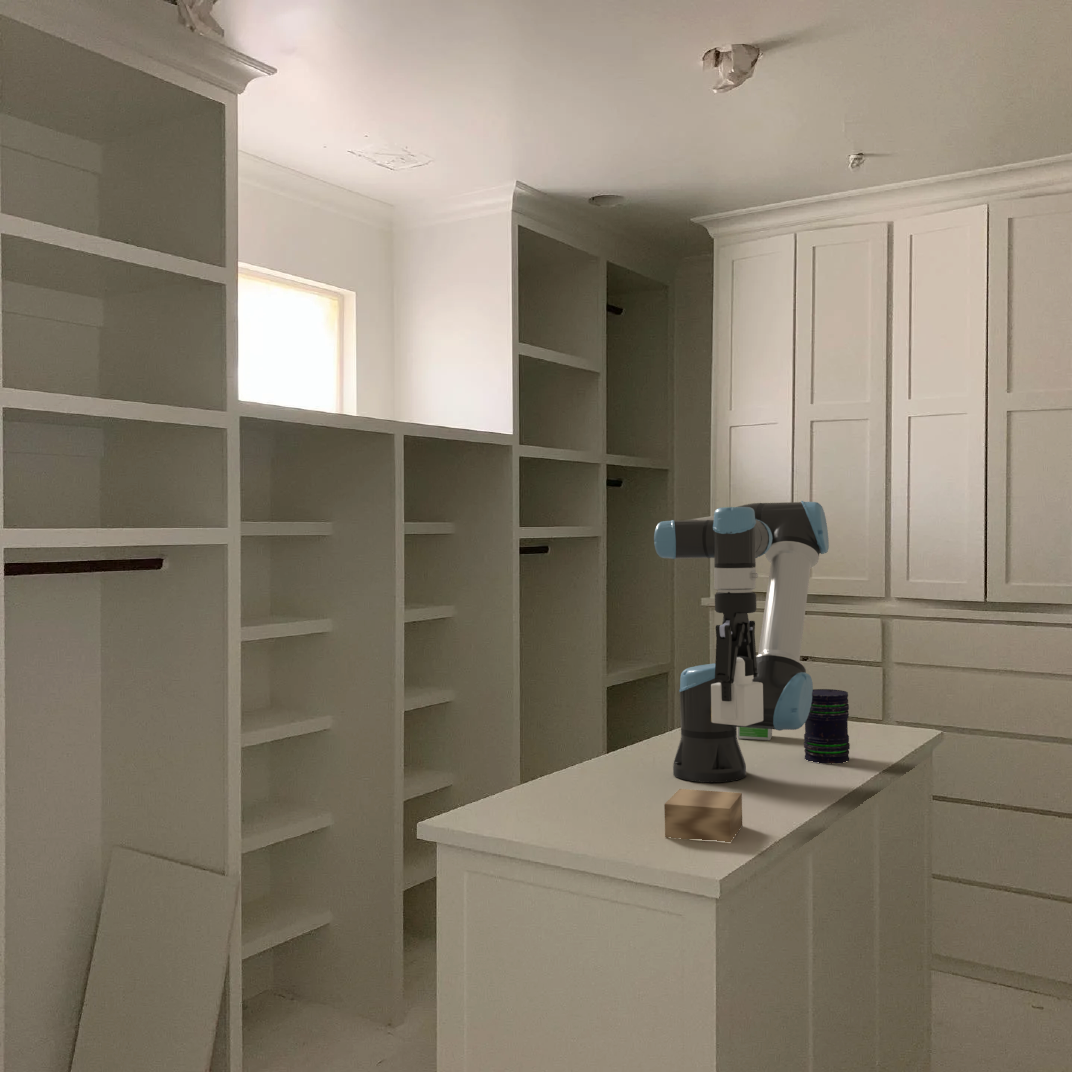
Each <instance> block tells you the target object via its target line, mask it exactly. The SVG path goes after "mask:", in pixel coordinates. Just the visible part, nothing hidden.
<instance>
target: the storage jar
mask: <svg viewBox="0 0 1072 1072" xmlns="http://www.w3.org/2000/svg"><path fill="white" fill-rule="evenodd" d="M848 697H849V692H848V691H845V690H841V689H829V688H818V689H817V688H815V689H814V688H813V691H812V703H811V708H810V712H809V715H808V718H807V720H806V722H805V723H804V732H805V733H804V734H803V738H804V739H803V740H804V742H803V748H804V754H805V755H804V760H805V759H806V760H808V761H807V762H809V761H813V762H819V763H818V764H820V763H831V764H830V765H833V764H832V763H841V764H844V763H843V762H846V761H848V762H850V756H849V755H850V751H849V750H850V745H851V744H850V736H849V729H848V728H849V727H848V725H849V724H848V723H849V722H848V720H849V715H850V714H849V710H850V706H849V698H848ZM806 760H805V761H806ZM813 762H812V763H813ZM846 763H847V762H846Z"/></svg>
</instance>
